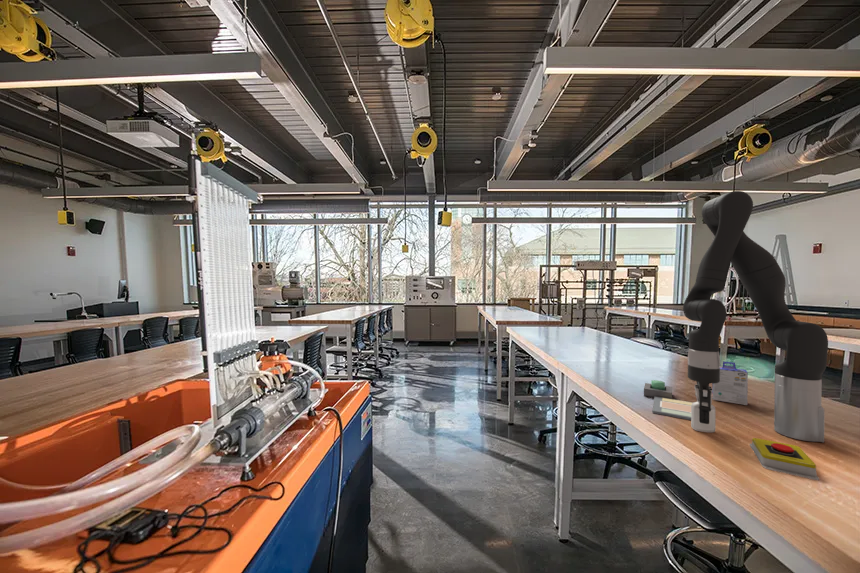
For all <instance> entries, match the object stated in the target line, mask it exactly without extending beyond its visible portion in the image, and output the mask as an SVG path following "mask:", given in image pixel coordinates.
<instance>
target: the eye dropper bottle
mask: <svg viewBox="0 0 860 573" xmlns="http://www.w3.org/2000/svg"><path fill="white" fill-rule="evenodd" d="M702 406H707V404H706V403H702ZM698 407H699V403H698V402H697V401H694V402H693V403H692V405H691V420H690V421H691V422H690V426H691V429H693V430H694V431H697V432H700V433H701V432H702V433H715V432H716V421H717V420H716V415H717V414H716V407H715V405H713V404H712V403H711V411H710V412H709V424H704V423H700V421H699V409H698Z"/></svg>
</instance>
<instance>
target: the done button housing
mask: <svg viewBox="0 0 860 573" xmlns="http://www.w3.org/2000/svg"><path fill="white" fill-rule="evenodd" d="M654 396H656V397H663V398H669V399H673V387H672V386H670V385H669V386H668V385H665V390H659V389H652V388H651V383H648V382H645V383H644V386H643V397H647V398H648V397H649V398H653V399H654Z"/></svg>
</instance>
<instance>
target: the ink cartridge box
mask: <svg viewBox="0 0 860 573" xmlns="http://www.w3.org/2000/svg"><path fill="white" fill-rule="evenodd" d="M728 364H729V365H728ZM748 373H749V372H748V371H747V370H746V369H742V368H737V366H736V362H733V361H732V362H731V361H722V366H720V382H719V383H714V384H713V383H711V385H712V386H711V388H712V401H717V402H718V401H720V402H725V403H729V404H737V405H738V404H739V405H744V406H748V392H749V391H748V375H749V374H748Z"/></svg>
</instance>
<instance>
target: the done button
mask: <svg viewBox="0 0 860 573" xmlns="http://www.w3.org/2000/svg"><path fill="white" fill-rule="evenodd" d="M650 384H651V388H652V389H659V390H665V386H666V383H665V381H662V380H657V379H655V380H654V379H653V380H651V381H650Z"/></svg>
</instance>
